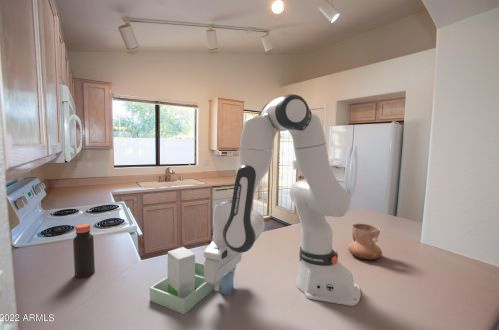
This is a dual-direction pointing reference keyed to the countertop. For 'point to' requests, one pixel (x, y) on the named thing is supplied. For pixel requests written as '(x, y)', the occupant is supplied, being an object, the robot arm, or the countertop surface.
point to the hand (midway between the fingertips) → (224, 283)
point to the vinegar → (83, 251)
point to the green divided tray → (176, 302)
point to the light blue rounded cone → (227, 283)
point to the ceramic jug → (365, 242)
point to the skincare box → (181, 272)
